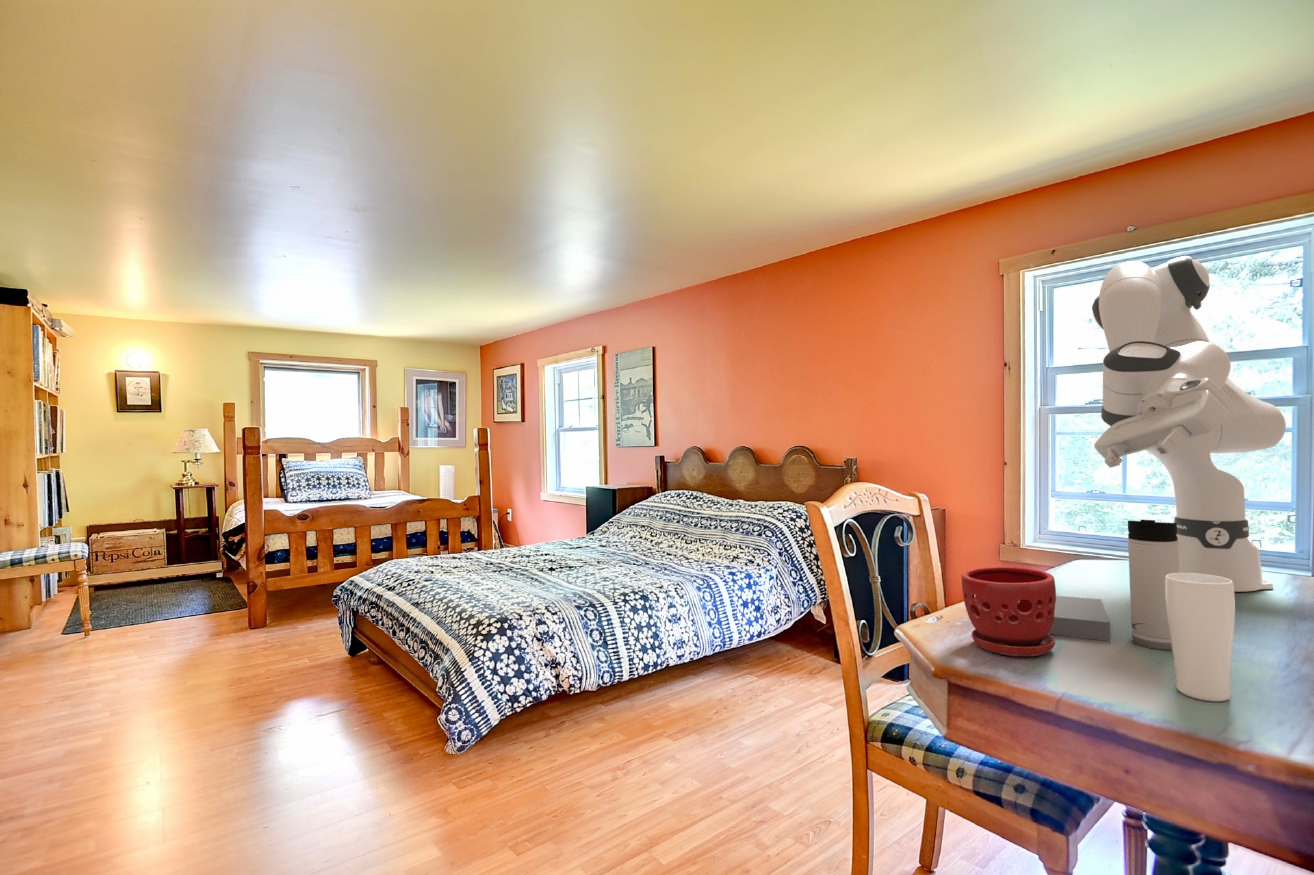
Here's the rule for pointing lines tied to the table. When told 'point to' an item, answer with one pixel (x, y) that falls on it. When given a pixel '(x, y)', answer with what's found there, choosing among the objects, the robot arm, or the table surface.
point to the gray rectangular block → (1080, 618)
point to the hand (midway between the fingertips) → (1135, 457)
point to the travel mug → (1151, 580)
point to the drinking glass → (1201, 633)
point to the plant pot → (1010, 609)
